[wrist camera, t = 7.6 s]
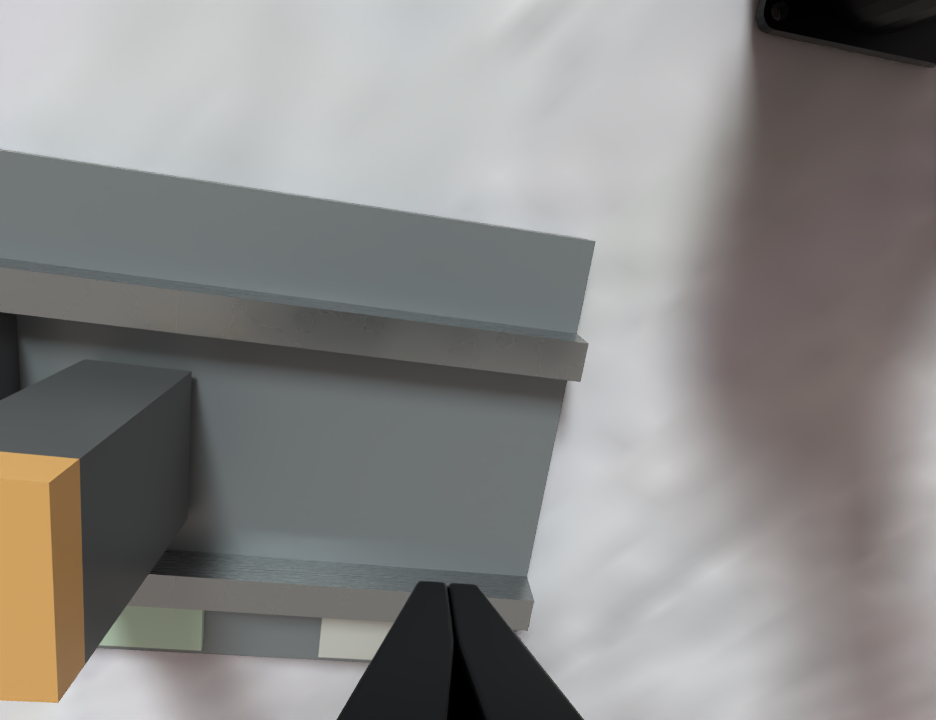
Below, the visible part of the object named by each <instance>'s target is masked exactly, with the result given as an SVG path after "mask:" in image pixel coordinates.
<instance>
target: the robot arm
mask: <svg viewBox="0 0 936 720" xmlns="http://www.w3.org/2000/svg"><path fill="white" fill-rule="evenodd" d="M774 5H775V6H776V7H778V9H779V11H780V17H779V19H778V21H777V20H775V19H774V18H773V16H772V8H773V6H774ZM756 22H757V26H758V27H759V28H760V30H761V31H763V32H765V33H767V34H772V35H777V36H781V37H786V38H791V39H796V40H800V41H805V42H810V43H815V44H820V45H824V46H829V47H834V48H839V49H844V50H848V51H853V52H858V53H863V54H867V55H872V56H877V57H882V58H887V59H891V60H896V61H901V62H906V63H910V64H915V65H920V66H925V67H936V0H759V3H758V7H757V11H756ZM337 720H584V719H583V718H582V717H581V715H580V714H579V713H578V712H577V710H576V709H575V708H574V707H573V705H572V704H571V703H570V701H569V700H568V699H567V698H566V696H565V695H564V694H563V693H562V691H561V690H560V689H559V688H558V686H557V685H556V684H555V683H554V681H553V680H552V679H551V678H550V676H549V675H548V674H547V673H546V671H545V670H544V669H543V667H542V666H541V665H540V664H539V662H538V661H537V660H536V659H535V657H534V656H533V655H532V654H531V652H530V651H529V650H528V649H527V647H526V646H525V645H524V644H523V642H522V641H521V640H520V639H519V637H518V636H517V635H516V633H515V632H514V631H513V630H512V628H511V627H510V626H509V625H508V623H507V622H506V621H505V620H504V618H503V617H502V616H501V615H500V613H499V612H498V611H497V610H496V608H495V607H494V606H493V604H492V603H491V602H490V601H489V599H488V598H487V597H486V596H485V594H484V593H483V592H482V591H481V589H480V588H479V587H478V586H477V585H475V584H464V583H450V584H449V585H448V587H447V585H446V584H445V583H444V582H434V581H419V582H418V583H417V584H416V586H415V587H414V589H413V591H412V593H411V594H410V596H409V598H408V599H407V601H406V603H405V604H404V606H403V608H402V610H401V611H400V613H399V615H398V616H397V618H396V620H395V621H394V623H393V625H392V627H391V628H390V630H389V632H388V633H387V635H386V637H385V638H384V640H383V642H382V644H381V645H380V647H379V649H378V650H377V652H376V654H375V655H374V657H373V659H372V661H371V662H370V664H369V666H368V667H367V669H366V671H365V672H364V674H363V676H362V678H361V679H360V681H359V683H358V684H357V686H356V688H355V689H354V691H353V693H352V695H351V696H350V698H349V700H348V701H347V703H346V705H345V706H344V708H343V710H342V712H341V713H340V715H339V717H338V718H337Z"/></svg>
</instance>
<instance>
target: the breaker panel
mask: <svg viewBox="0 0 936 720" xmlns="http://www.w3.org/2000/svg"><path fill="white" fill-rule="evenodd" d="M594 246H595V241H591V240H587V239H582V238H576V237H569V236H563V235H556V234H550V233H543V232H536V231H530V230H523V229H517V228H510V227H504V226H497V225H491V224H484V223H478V222H471V221H465V220H458V219H452V218H445V217H439V216H432V215H426V214H419V213H413V212H406V211H399V210H393V209H386V208H380V207H373V206H367V205H360V204H354V203H347V202H341V201H334V200H328V199H321V198H315V197H308V196H302V195H295V194H289V193H282V192H276V191H269V190H262V189H256V188H249V187H243V186H236V185H230V184H223V183H217V182H210V181H204V180H197V179H191V178H184V177H178V176H171V175H165V174H158V173H152V172H145V171H139V170H132V169H125V168H119V167H112V166H106V165H99V164H93V163H86V162H80V161H73V160H67V159H60V158H54V157H47V156H41V155H34V154H28V153H21V152H15V151H8V150H2V149H0V400H2V399H4V398H6V397H8V396H10V395H12V394H14V393H16V392H19V391H21V390H23V389H25V388H27V387H29V386H31V385H33V384H35V383H37V382H39V381H41V380H43V379H45V378H47V377H49V376H51V375H53V374H55V373H57V372H59V371H61V370H63V369H65V368H67V367H69V366H72V365H74V364H76V363H78V362H80V361H82V360H84V359H88V360H97V361H106V362H115V363H124V364H132V365H141V366H150V367H159V368H168V369H177V370H186V371H192V381H191V418H190V455H189V491H188V519H187V521H186V522H185V523H184V525H183V526H182V528H181V529H180V531H179V532H178V533H177V535H176V536H175V538H174V539H173V541H172V542H171V543H170V545H169V546H168V548H167V549H166V550H165V552H164V553H163V555H162V556H161V558H160V559H159V560H158V562H157V563H156V565H155V566H154V567H153V569H152V570H151V572H150V573H149V575H148V576H147V577H146V579H145V580H144V582H143V583H142V584H141V586H140V587H139V589H138V590H137V592H136V593H135V594H134V596H133V597H132V599H131V600H130V602H129V603H128V604H127V606H126V607H125V609H124V610H123V611H122V613H121V614H120V616H119V617H118V619H117V620H116V621H115V623H114V624H113V626H112V627H111V628H110V630H109V631H108V633H107V634H106V636H105V637H104V638H103V640H102V641H101V643H100V644H99V646H98V647H97V648H109V649H128V650H147V651H165V652H184V653H203V654H221V655H240V656H259V657H277V658H296V659H314V660H333V661H352V662H371V661H372V659H373V657H374V655H375V654H376V652H377V650H378V649H379V647H380V645H381V644H382V642H383V640H384V638H385V637H386V635H387V633H388V632H389V630H390V628H391V627H392V625H393V623H394V621H395V620H396V618H397V616H398V615H399V613H400V611H401V610H402V608H403V606H404V604H405V603H406V601H407V599H408V598H409V596H410V594H411V593H412V591H413V589H414V587H415V586H416V584H417V583H418V582H419V581H434V582H444V583H445V584H446V585H447V587H448V585H449V584H450V583H464V584H475V585H477V586H478V587H479V588H480V589H481V591H482V592H483V593H484V594H485V596H486V597H487V598H488V599H489V601H490V602H491V603H492V604H493V606H494V607H495V608H496V610H497V611H498V612H499V613H500V615H501V616H502V617H503V618H504V620H505V621H506V622H507V623H508V625H509V626H510V627H511V628H512V630H513V631H514V632H515V631H516V630H525V631H528V627H529V622H530V617H531V613H532V608H533V603H534V599H533V596H532V593H531V589H530V586H529V582H528V579H527V573H528V568H529V563H530V558H531V553H532V548H533V543H534V539H535V534H536V529H537V524H538V519H539V514H540V509H541V504H542V500H543V495H544V490H545V485H546V480H547V475H548V470H549V465H550V461H551V456H552V451H553V446H554V441H555V436H556V431H557V426H558V422H559V417H560V412H561V407H562V402H563V397H564V392H565V387H566V383H567V380H569V381H578V382H580V381H581V376H582V372H583V367H584V362H585V357H586V353H587V348H588V343H587V342H586V341H585V340H584V339H582V338H581V337H580V336H579V335H578V334H577V329H578V324H579V319H580V314H581V309H582V305H583V300H584V295H585V290H586V285H587V280H588V275H589V270H590V266H591V261H592V256H593V251H594Z"/></svg>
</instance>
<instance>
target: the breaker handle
mask: <svg viewBox="0 0 936 720" xmlns="http://www.w3.org/2000/svg"><path fill="white" fill-rule="evenodd" d="M191 381H192V371H186V370H177V369H168V368H159V367H150V366H141V365H132V364H124V363H115V362H106V361H97V360H88V359H84V360H82V361H80V362H78V363H76V364H74V365H72V366H69V367H67V368H65V369H63V370H61V371H59V372H57V373H55V374H53V375H51V376H49V377H47V378H45V379H43V380H41V381H39V382H37V383H35V384H33V385H31V386H29V387H27V388H25V389H23V390H21V391H19V392H16V393H14V394H12V395H10V396H8V397H6V398H4V399H2V400H0V700H5V701H29V702H53V703H58V702H59V701H60V699H61V698H62V697H63V695H64V694H65V692H66V691H67V689H68V688H69V687H70V685H71V684H72V682H73V681H74V680H75V678H76V677H77V675H78V674H79V672H80V671H81V670H82V668H83V667H84V665H85V664H86V663H87V661H88V660H89V658H90V657H91V655H92V654H93V653H94V651H95V650H96V648H97V647H98V646H99V644H100V643H101V641H102V640H103V638H104V637H105V636H106V634H107V633H108V631H109V630H110V628H111V627H112V626H113V624H114V623H115V621H116V620H117V619H118V617H119V616H120V614H121V613H122V611H123V610H124V609H125V607H126V606H127V604H128V603H129V602H130V600H131V599H132V597H133V596H134V594H135V593H136V592H137V590H138V589H139V587H140V586H141V584H142V583H143V582H144V580H145V579H146V577H147V576H148V575H149V573H150V572H151V570H152V569H153V567H154V566H155V565H156V563H157V562H158V560H159V559H160V558H161V556H162V555H163V553H164V552H165V550H166V549H167V548H168V546H169V545H170V543H171V542H172V541H173V539H174V538H175V536H176V535H177V533H178V532H179V531H180V529H181V528H182V526H183V525H184V523H185V522H186V521H187V519H188V491H189V455H190V418H191Z"/></svg>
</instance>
